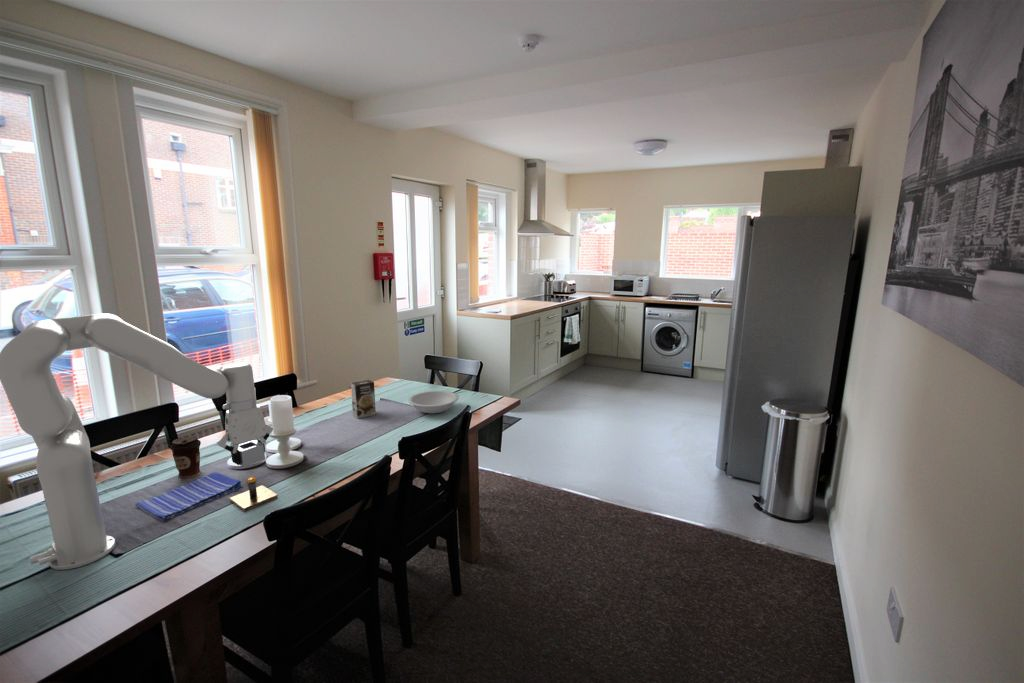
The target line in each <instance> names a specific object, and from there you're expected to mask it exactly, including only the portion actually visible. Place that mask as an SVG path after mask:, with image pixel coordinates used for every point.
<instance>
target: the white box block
mask: <svg viewBox="0 0 1024 683" xmlns="http://www.w3.org/2000/svg"><path fill="white" fill-rule="evenodd" d="M237 452H239V456H240V463H241V464H240V465H239V466H241V467H243V468H247V467H248V466H250V465H254V464H257V463H260V462H262V461H265V460H266V454H265V453H266V452H264V446H263V444H262V443H260V442H258V440H257V439H255V440H252V441H249V442H246V443H243V444H239V447H238V450H237Z"/></svg>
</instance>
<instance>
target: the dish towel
mask: <svg viewBox="0 0 1024 683" xmlns="http://www.w3.org/2000/svg"><path fill="white" fill-rule="evenodd" d="M241 483H242V481H241V480H239V479H234V478H231V477H229V476H226V475H225V474H223V473H219V472H217V471H216V472H215V471H213V472H211V473H209V474H207V475H204V476H203V477H201V478H197V479H196V480H194V481H191V482H189V483H186V484H184V485H180V486H177V487H176V488H173V489H171V490H168V491H166V492H163V493H161V494H159V495H156V496H153V497H151V498H148V499H145V500H141V501H139V502H136V503H135V506H136V507H137V508H138V509H140V510H142V511H143V512H145V513H147V515H150V516H152V517H154V518H155V519H157V520H160V521H163V522H164V521H165V520H169V519H172V518H174V517H176V516H179V515H182V514H184V513H185V512H188V511H190V510H193V509H195V508H197V507H198V508H199V507H200V506H202V505H205V504H207V503H209V502H211V501H214V500H216V499H218V498H221V497H223V496H226V495H228V494H230V493H233V492H235V491H237V490H239V489H241V488H242V485H241Z"/></svg>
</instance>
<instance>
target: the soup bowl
mask: <svg viewBox="0 0 1024 683" xmlns="http://www.w3.org/2000/svg"><path fill="white" fill-rule="evenodd" d="M407 399H408V400H407V401H408V403H409V404H411V405H412V406H413V407H414V408H415V410H417V411H419V412H422V413H425V414H437V413H443V412H446V411H448V410H450V408H451V407H453V405H454V404H455V403H456V402H457V401H458V400H459V399H460V398H459V394H457V393H455V392H453V391H448V390H447V391H446V390H427V391H422V392H418V393H414V394H412V395H411V396H409V397H408V398H407Z"/></svg>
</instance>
